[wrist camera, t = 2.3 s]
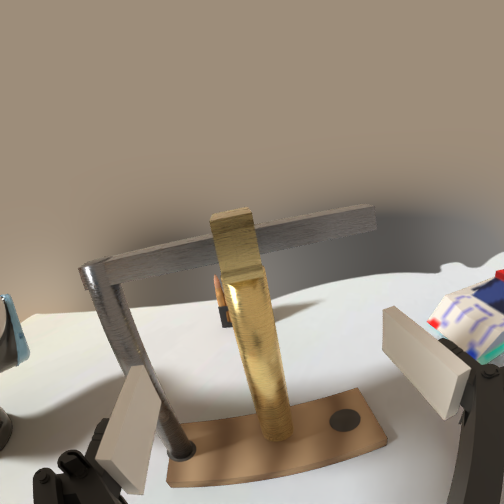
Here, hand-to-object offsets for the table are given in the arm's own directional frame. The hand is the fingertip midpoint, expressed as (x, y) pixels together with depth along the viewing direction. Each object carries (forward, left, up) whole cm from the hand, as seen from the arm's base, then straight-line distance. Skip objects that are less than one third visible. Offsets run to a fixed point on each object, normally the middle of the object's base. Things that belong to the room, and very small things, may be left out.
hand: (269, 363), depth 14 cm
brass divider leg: (-7, +7, -19) cm, 21 cm away
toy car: (+23, +42, -22) cm, 52 cm away
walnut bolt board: (-8, +7, -21) cm, 23 cm away
